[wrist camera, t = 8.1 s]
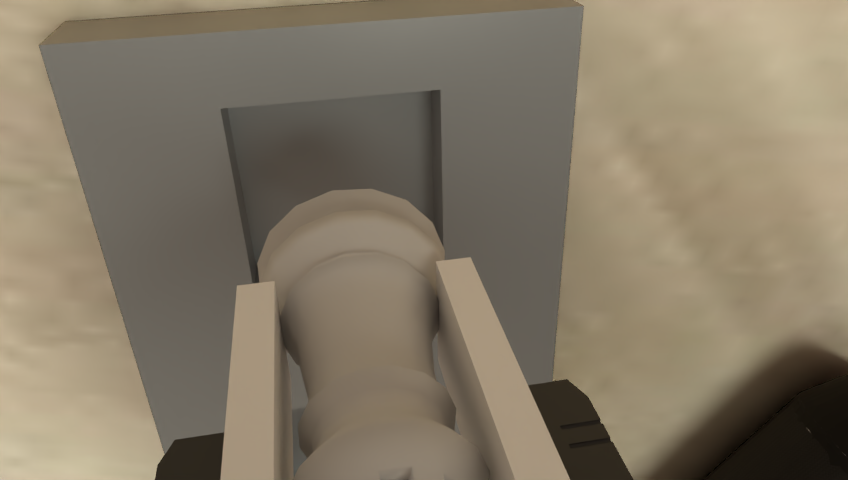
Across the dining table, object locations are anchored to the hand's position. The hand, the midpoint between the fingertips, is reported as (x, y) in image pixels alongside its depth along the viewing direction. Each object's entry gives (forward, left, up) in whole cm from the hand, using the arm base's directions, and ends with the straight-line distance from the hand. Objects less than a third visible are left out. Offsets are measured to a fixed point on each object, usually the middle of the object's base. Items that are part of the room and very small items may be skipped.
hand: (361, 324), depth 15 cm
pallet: (-6, 0, -9) cm, 10 cm away
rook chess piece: (0, 0, -2) cm, 2 cm away
